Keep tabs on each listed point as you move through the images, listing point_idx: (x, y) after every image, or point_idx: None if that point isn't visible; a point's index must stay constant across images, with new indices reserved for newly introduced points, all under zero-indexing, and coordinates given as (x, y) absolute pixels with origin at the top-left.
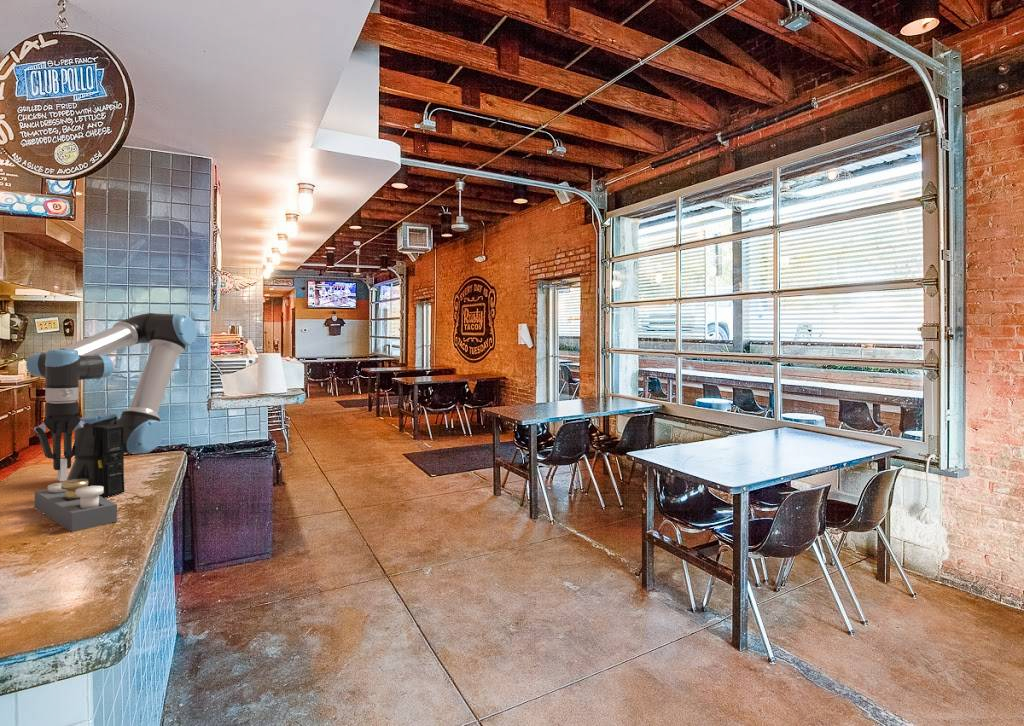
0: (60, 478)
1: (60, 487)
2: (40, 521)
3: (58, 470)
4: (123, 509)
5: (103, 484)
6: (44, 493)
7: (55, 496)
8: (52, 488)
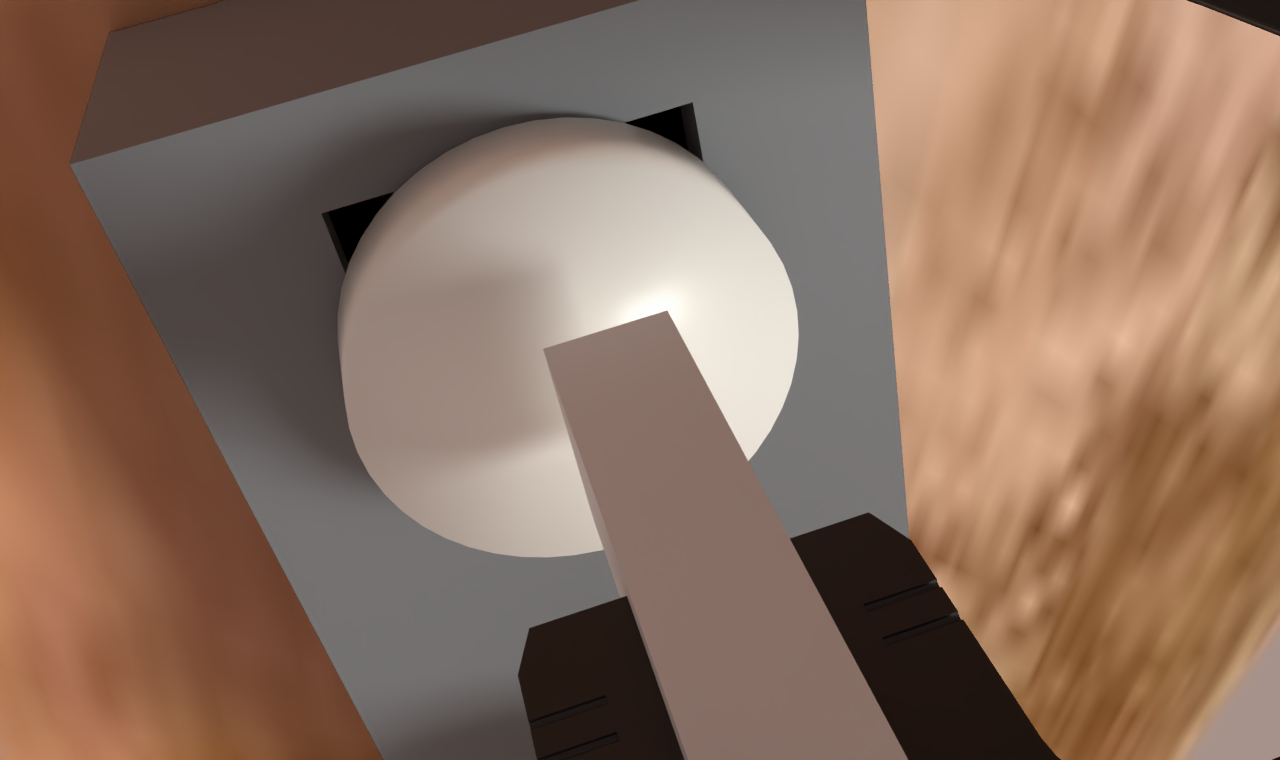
0: (604, 550)
1: (561, 553)
2: (299, 697)
3: (618, 576)
4: (1038, 577)
5: (1229, 10)
6: (294, 425)
7: (470, 656)
8: (433, 518)
